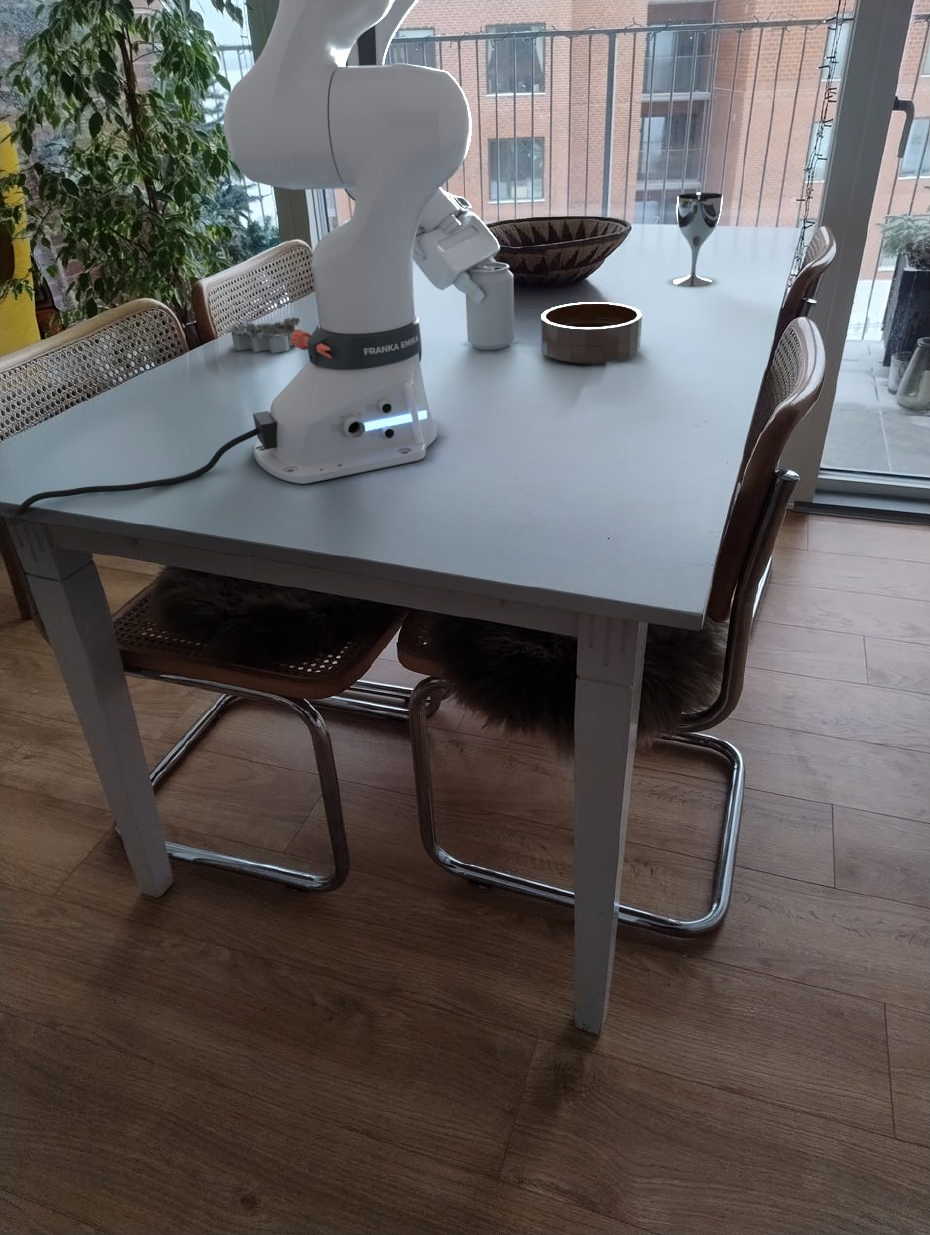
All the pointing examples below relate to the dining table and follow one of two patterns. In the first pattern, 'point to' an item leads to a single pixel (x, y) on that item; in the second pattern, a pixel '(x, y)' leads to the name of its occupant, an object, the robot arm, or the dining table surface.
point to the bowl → (591, 332)
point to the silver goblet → (697, 227)
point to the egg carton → (264, 336)
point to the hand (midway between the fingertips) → (493, 292)
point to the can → (491, 307)
